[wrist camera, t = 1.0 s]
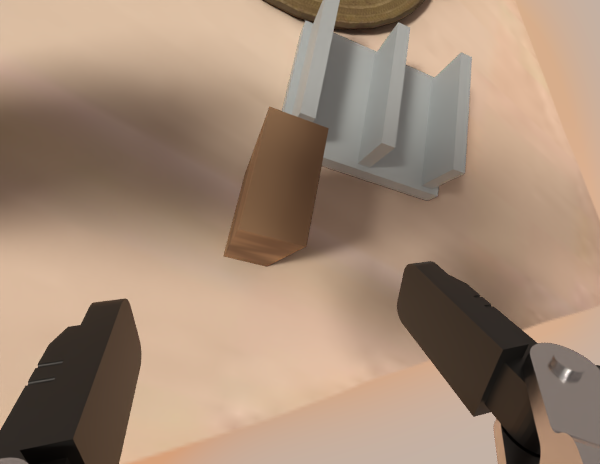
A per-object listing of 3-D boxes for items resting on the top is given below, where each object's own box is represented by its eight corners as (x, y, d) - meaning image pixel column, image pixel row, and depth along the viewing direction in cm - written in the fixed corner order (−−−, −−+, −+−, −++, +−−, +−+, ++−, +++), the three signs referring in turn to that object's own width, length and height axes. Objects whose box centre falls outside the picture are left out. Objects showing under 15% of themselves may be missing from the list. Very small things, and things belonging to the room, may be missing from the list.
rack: (272, 149, 28) (289, 115, 23) (300, 32, 31) (320, -21, 26) (427, 200, 32) (471, 181, 27) (437, 91, 35) (478, 56, 30)
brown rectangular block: (223, 256, 25) (238, 228, 15) (244, 174, 27) (269, 106, 17) (267, 266, 26) (306, 246, 16) (284, 187, 27) (328, 128, 18)
